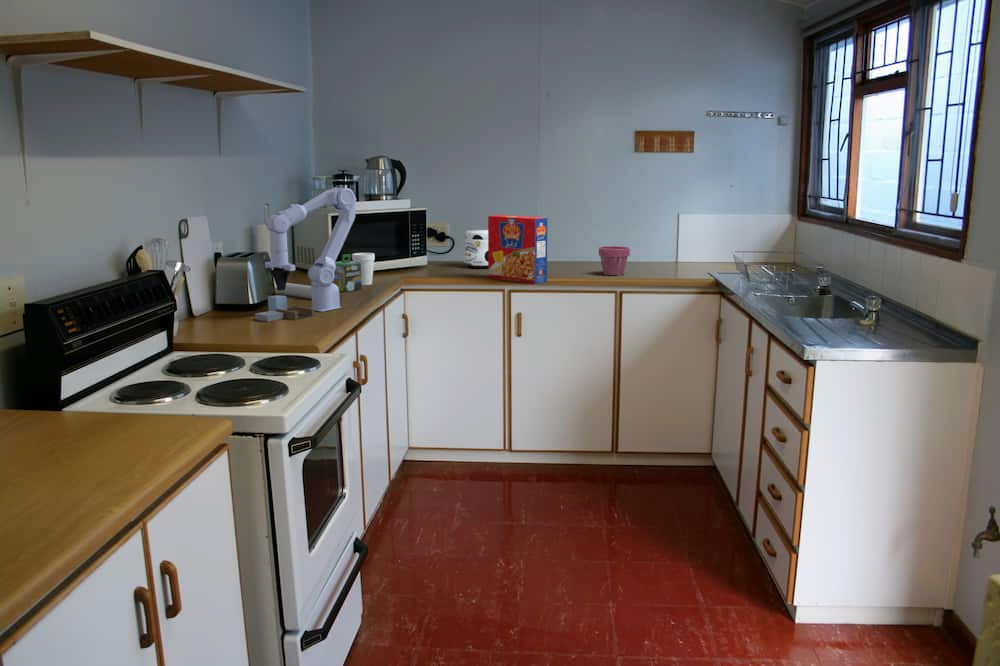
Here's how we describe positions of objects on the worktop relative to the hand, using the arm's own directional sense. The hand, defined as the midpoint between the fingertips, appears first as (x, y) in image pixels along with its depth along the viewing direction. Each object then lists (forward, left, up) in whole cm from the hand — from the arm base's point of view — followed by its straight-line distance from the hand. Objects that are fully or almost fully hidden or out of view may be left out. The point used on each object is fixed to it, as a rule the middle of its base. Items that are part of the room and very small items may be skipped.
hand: (281, 290), depth 273 cm
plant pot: (-154, +47, -9) cm, 161 cm away
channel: (0, +7, -8) cm, 11 cm away
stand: (+8, +4, -8) cm, 13 cm away
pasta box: (-114, +20, -9) cm, 116 cm away
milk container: (-140, -20, -9) cm, 142 cm away
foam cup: (-66, -27, -9) cm, 72 cm away
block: (0, -2, -8) cm, 9 cm away
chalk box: (-50, -21, -9) cm, 55 cm away
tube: (-28, -25, -9) cm, 38 cm away
